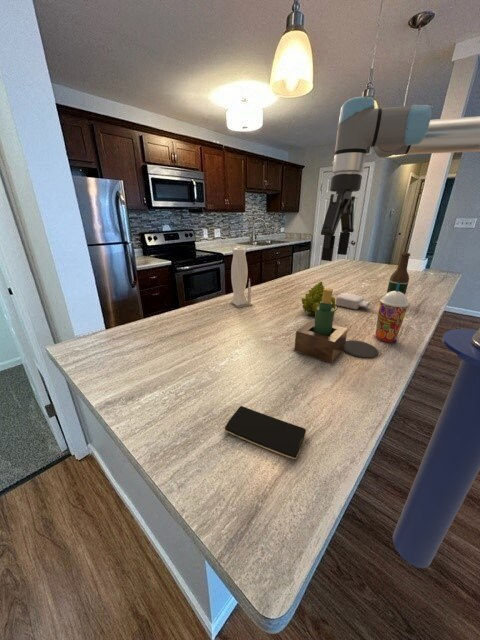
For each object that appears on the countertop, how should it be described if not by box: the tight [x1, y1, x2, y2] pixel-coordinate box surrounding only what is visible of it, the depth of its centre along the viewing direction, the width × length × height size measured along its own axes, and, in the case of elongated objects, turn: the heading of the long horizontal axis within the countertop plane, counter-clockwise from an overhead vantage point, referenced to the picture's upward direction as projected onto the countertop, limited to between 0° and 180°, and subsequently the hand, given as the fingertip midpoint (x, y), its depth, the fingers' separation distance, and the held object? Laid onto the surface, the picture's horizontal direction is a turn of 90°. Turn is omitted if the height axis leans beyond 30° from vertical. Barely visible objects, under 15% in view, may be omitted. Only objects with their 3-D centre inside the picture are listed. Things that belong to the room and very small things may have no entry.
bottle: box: [313, 287, 336, 336], centre depth 81 cm, size 5×5×20 cm
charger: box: [335, 292, 375, 311], centre depth 121 cm, size 5×9×15 cm
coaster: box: [342, 340, 379, 359], centre depth 84 cm, size 11×11×1 cm
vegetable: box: [301, 281, 339, 317], centre depth 112 cm, size 15×16×15 cm
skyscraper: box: [230, 243, 253, 309], centre depth 119 cm, size 8×8×28 cm
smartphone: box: [224, 405, 307, 460], centre depth 52 cm, size 7×1×15 cm
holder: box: [293, 318, 349, 364], centre depth 83 cm, size 12×12×7 cm
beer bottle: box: [386, 252, 411, 296], centre depth 123 cm, size 8×8×24 cm
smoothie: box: [374, 283, 410, 343], centre depth 88 cm, size 8×8×20 cm
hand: (334, 257), depth 76 cm, fingers open, 13 cm apart
